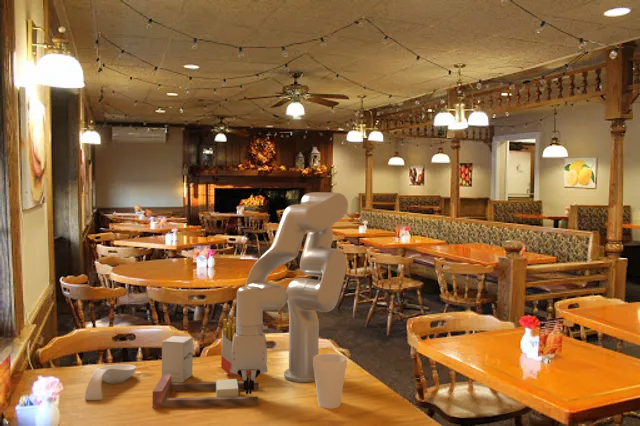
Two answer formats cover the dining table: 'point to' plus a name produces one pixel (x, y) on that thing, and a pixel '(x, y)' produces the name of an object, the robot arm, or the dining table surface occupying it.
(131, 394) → the dining table surface
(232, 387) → the block
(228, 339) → the french fries container
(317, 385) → the foam cup
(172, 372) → the supplement box
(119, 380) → the spoon rest
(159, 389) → the guide track
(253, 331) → the robot arm
